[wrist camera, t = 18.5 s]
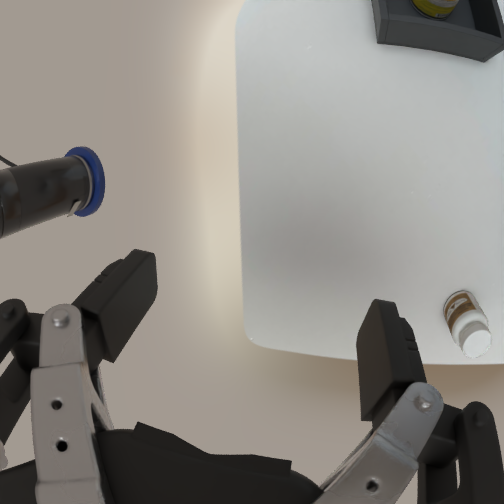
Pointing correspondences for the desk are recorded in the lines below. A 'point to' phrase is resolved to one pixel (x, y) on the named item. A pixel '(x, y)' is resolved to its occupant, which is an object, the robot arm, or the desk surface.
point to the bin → (442, 28)
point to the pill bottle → (467, 324)
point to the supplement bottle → (434, 8)
